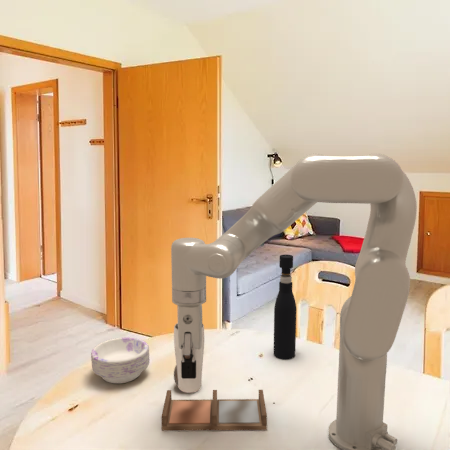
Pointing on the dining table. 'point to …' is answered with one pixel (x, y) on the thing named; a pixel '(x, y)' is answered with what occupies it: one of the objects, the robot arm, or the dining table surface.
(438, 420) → the dining table surface
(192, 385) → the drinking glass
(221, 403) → the slot rack
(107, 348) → the paper bowls
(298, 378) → the dining table surface
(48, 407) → the dining table surface
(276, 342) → the wine bottle
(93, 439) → the dining table surface
